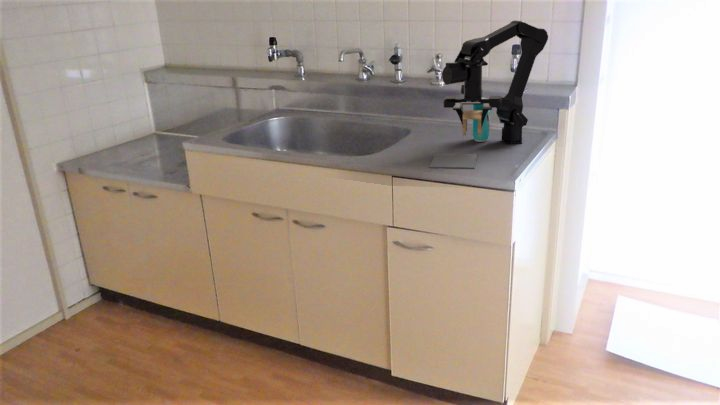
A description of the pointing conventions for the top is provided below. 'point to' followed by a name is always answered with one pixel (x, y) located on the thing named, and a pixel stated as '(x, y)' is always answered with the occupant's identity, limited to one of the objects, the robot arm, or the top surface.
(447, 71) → the robot arm
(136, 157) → the top surface
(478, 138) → the beverage can
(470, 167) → the mat
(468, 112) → the stool
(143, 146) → the top surface
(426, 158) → the top surface
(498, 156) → the top surface
